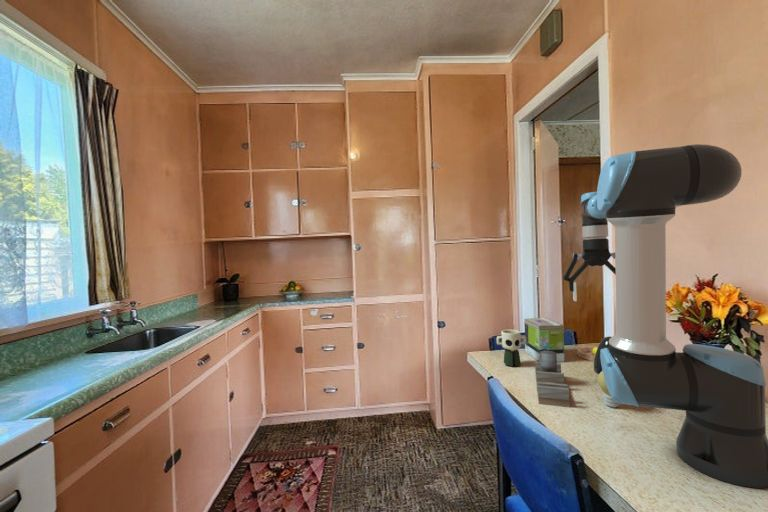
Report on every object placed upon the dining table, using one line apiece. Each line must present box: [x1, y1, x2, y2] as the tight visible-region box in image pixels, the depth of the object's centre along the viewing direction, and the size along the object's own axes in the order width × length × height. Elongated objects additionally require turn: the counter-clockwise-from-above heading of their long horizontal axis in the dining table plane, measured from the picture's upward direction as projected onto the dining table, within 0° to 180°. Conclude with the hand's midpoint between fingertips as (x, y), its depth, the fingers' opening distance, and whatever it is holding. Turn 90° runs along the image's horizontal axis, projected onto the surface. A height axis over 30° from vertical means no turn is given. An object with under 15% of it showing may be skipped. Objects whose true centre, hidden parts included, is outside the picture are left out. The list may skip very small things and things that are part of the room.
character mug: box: [496, 329, 526, 367], centre depth 135 cm, size 11×7×13 cm, turn 84°
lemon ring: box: [576, 345, 596, 362], centre depth 140 cm, size 14×14×2 cm
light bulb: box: [596, 371, 621, 408], centre depth 98 cm, size 6×6×10 cm
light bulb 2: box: [591, 346, 598, 355], centre depth 139 cm, size 3×6×4 cm, turn 165°
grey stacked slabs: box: [534, 351, 571, 408], centre depth 111 cm, size 24×8×10 cm, turn 158°
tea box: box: [523, 317, 565, 363], centre depth 142 cm, size 15×10×15 cm, turn 179°
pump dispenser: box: [593, 336, 612, 379], centre depth 113 cm, size 10×10×15 cm
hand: (597, 301), depth 118 cm, fingers open, 13 cm apart
